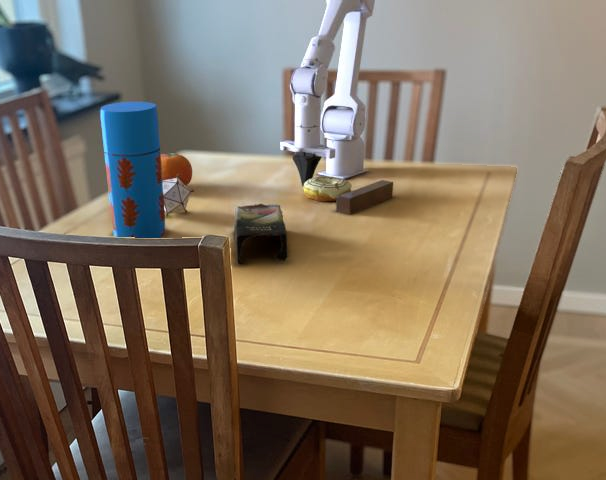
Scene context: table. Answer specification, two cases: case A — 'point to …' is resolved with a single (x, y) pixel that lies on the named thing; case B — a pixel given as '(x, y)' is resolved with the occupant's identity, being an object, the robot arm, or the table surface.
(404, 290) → the table surface
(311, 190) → the decorated donut
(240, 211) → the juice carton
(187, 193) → the game die
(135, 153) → the thermos
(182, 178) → the fruit
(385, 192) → the bar
